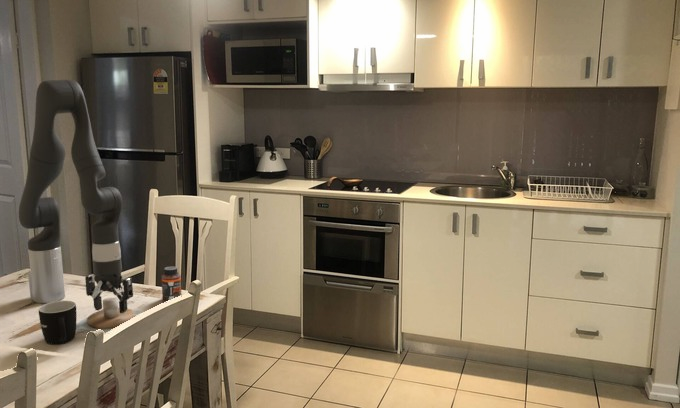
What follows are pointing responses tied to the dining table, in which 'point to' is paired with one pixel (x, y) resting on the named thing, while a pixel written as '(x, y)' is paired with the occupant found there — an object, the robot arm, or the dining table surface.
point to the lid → (109, 315)
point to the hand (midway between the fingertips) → (111, 310)
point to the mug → (58, 322)
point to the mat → (84, 326)
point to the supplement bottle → (171, 283)
